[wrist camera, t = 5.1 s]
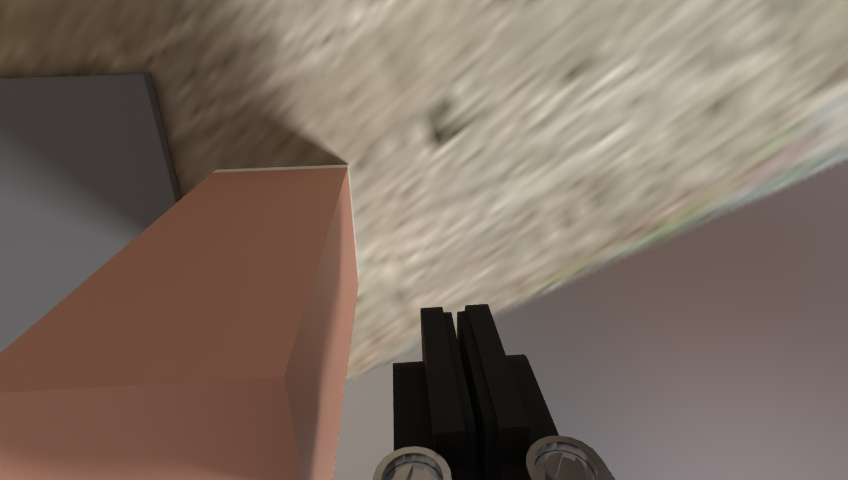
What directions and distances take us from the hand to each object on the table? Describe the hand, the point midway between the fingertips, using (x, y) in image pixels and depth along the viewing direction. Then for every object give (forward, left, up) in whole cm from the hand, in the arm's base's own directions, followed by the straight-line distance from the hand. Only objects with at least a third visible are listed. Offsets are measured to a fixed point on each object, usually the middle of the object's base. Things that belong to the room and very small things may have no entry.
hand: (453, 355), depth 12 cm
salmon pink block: (+6, 0, -8) cm, 10 cm away
